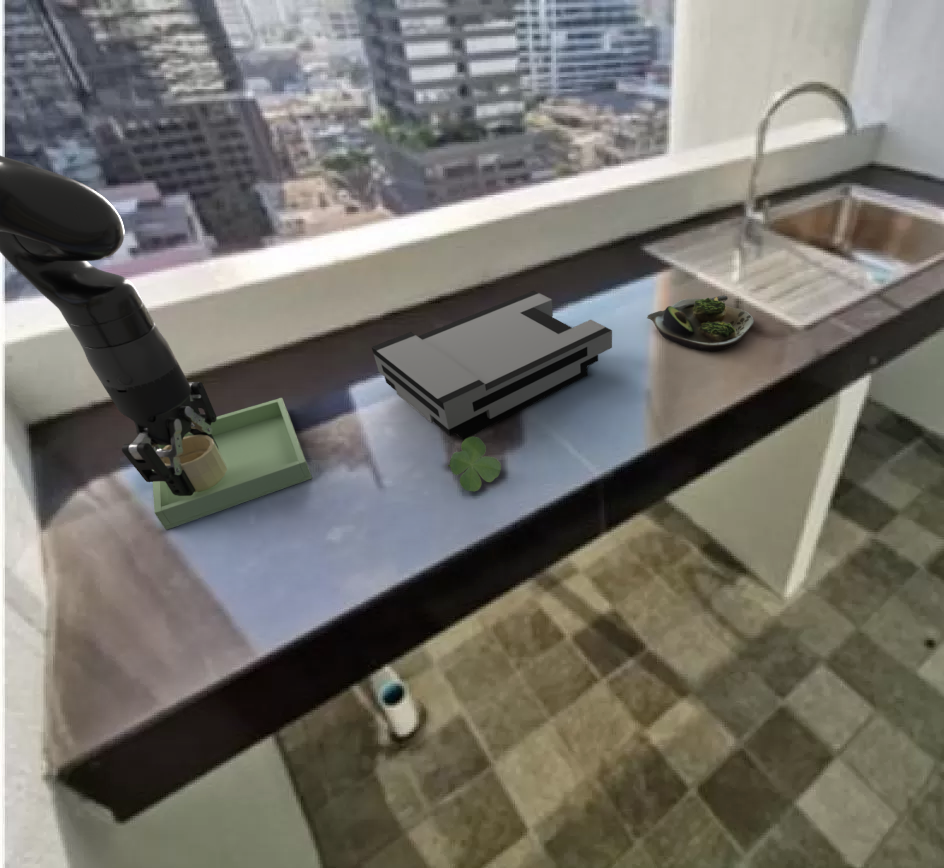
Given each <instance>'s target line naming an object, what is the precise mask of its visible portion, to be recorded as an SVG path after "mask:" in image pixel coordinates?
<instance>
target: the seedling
mask: <svg viewBox="0 0 944 868" xmlns="http://www.w3.org/2000/svg"><path fill="white" fill-rule="evenodd" d="M460 449H461V451H455V452H454V453H452V454H451V457H450V460H449V464H448V465H447V467H450V471H451V473H452V474H453V475H455V476H459V475H460V478H459V484H460V486H461V488H463V490H464V491H468V492H477V491H479V490H480V489H481V487H482V479H483V481H485V482H486V483H492V482H493V481H494V480H495V479H497V478H498V477H499V475H500V473H501V470H502V464H501V462H500V461H499V460H498V458H496V457H494V456H487V455H486V456H485V454H486V453H487V452H486V451H487V446H486V445H485V443H484V441H483V440H482V439H481V438H480V437H478V436H470V437H468V438H466V439H464V440H463V441H462V442H461V445H460ZM481 478H482V479H481Z"/></svg>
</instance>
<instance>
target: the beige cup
mask: <svg viewBox="0 0 944 868" xmlns="http://www.w3.org/2000/svg"><path fill="white" fill-rule="evenodd" d="M182 446H183V454H182V455H181V456H180V460H181V467H182V470H184V471H185V473H186V475H187V476H188V478H189V480H190V481H191V483H192V485H193V487H194V488H195V492H200V491H204V490H207V489H209V488H211V487H213V486H214V485H216V484H217V483H218V482H219V481H220V480H221V479H222V478H223V477H224V475H225V473H226V471H227V466H226V463H225V461H224V459H223V457H222V455H221V454H220V452H219V450H218V448H217V446H216V444H215V442H214V440H213V439H212V438H210V437H209V436H206V435H190V436H186V437H184V438H183V440H182ZM171 448H172V447H171V445H167V446H166V447H164V448H163V450H164V449H171ZM164 462H165V465H166V466H170V459H169V458H168V457H164Z"/></svg>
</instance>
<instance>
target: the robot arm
mask: <svg viewBox="0 0 944 868" xmlns="http://www.w3.org/2000/svg"><path fill="white" fill-rule="evenodd" d="M121 217H122V216H121V215H120V214H119V211H118V210H117V209H116V208H115V206H114V205H113V204H112V202H110V201H109V200H108V199H107V198H106V197H105V196H104V195H102V194H101V193H99V192H98V191H97V190H95V189H94V188H92V187H90V186H88V185H87V184H85V183H82V182H81V181H78V180H75V179H73V178H71V177H69V176H65V175H62V174H59V173H57V172H54V171H51V170H47V169H45V168H41V167H38V166H35V165H33V164H30V163H27V162H23V161H20V160H16V159H14V158H13V159H12V158H9V157H6V156H3V155H0V253H1V255H2V256H3V257H4V259H6V260H7V261H8V263H10V264H11V265H12V266H13V267H14V269H16V270H17V271H18V272H19V273H20V274H21V275H22V276H23V277H24V278H25V279H26V280H27V281H28V282H29V283H30V284H31V285H32V286H33V287H34V288H35V289H36V290H37V291H38V292H39V293H40V294H41V295H43V297H45V298H46V299H47V300H48V301H49V302H50V303H52V304H53V306H55V307H56V308H57V309H58V311H59V312H60V313H61V315H62V317H63V319H64V320H65V322H66V323H67V325H68V327H69V328H70V330H71V331H72V333H73V334H74V336H75V337H76V339H77V341H78V342H79V344H80V346H81V348H82V350H83V353H84V355H85V357H86V360H87V362H88V363H89V366H90V367H91V369H92V370H93V372H94V373H95V375H96V377H97V378H98V380H99V382H100V383H101V385H102V386H103V388H104V389H105V391H106V392H107V395H108V396H109V397H110V399H111V400H112V402H113V403H114V406H115V408H117V410H118V411H119V412H120V414H122V415H123V416H125V417H127V418H129V419H130V420H131V421H133V423H134V425H135V430H136V434H137V435H136V437H135V439H134V440H133V442H131V443H124V444H122V446H121V447H122V448H121V451H122V453H123V455H124V456H125V457H126V459H127V460H128V461H129V462H130V463H131V465H132V466H133V467H134V468H135V470H136V472H137V473H138V474H139V475H140V476H141V477H142V478H143V480H144V481H145V482H146V483H153V482H158V481H164V482H166V484H167V485H168V487H169V488H170V490H171V492H172V493H173V494H174V495H178V496H191V495H192V494H193V493H194V492H195V488H194V487H193V485H192V483H191V481H190V480H189V478H188V476H187V475H186V473H185V471H184V470H182V467H181V460H180V456H181V455H182V454H183V446H182V440H183V438H184V435H185V434H187V433H188V434H190V435H206V436H209V437H210V438H212V439H213V440H214V438H213V436H212V434H211V433H212V427H211V423H212V422H216V419H217V417H218V416H217V414H216V412H215V410H214V406H213V405H212V403H211V400H210V398H209V395H208V393H207V391H206V388H205V386H204V383H203V382H202V381H188V379H187V376H186V375H185V373H184V371H183V370H182V368H181V366H180V363H179V362H178V360H177V358H176V356H175V354H174V352H173V350H172V348H171V346H170V345H169V342H168V341H167V338H166V337H165V336H164V335H163V333H162V332H161V331H160V329H159V328H158V326H157V325H156V323H155V320H154V319H153V317H152V316H151V313H150V312H149V310H148V307H147V306H146V304H145V302H144V300H143V299H142V297H141V294H140V293H139V291H138V289H137V288H136V286H135V285H134V284H133V282H132V281H130V280H129V279H128V278H127V277H124V276H122V275H119V274H117V273H112V272H109V271H104V270H103V269H99V268H97V267H95V266H93V265H92V264H91V263H90V262H94V261H101V260H104V259H106V258H109V257H111V256H113V255H114V254H116V253H117V252H118V251H119V250H120V249H121V247H122V245H123V243H124V240H125V226H124V222H123V220H122V218H121ZM200 409H202V410H203V412H204V413H201V412H200ZM214 442H215V440H214ZM215 444H216V442H215ZM158 445H171V447H172V448H171V449H164V450H163V449H160V448H159V447H158ZM216 446H217V444H216ZM217 448H218V446H217ZM218 450H219V449H218ZM219 452H220V451H219ZM220 454H221V453H220ZM164 457H168V458H169V459H170V466H166V465H165V462H164ZM152 470H154V471H152Z"/></svg>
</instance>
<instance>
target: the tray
mask: <svg viewBox="0 0 944 868" xmlns="http://www.w3.org/2000/svg"><path fill="white" fill-rule="evenodd" d="M216 417H217V419H216V422H212V423H211V427H212V433H211V434H212V436H213V438H214V440H215V442H216V444H217V446H218V449H219V451H220V453H221V455H222V457H223V459H224V461H225V463H226V466H227V471H226V473H225V475H224V477H223V478H222V479H221V480H220V481H219V482H218V483H217V484H216V485H214V486H213V487H211V488H209V489H207V490H204V491H200V492H194V493H193V494H192V495H191V496H178V495H174V494H173V493H172V492H171V490H170V488H169V487H168V485H167V484H166V482H164V481H158V482H152V494H153V495H152V497H153V510H154V511H153V513H154V515H155V516H156V518H157V519H158V521H159V522H160V523H161V525H162V527H163V528H164V530H165V531H168V530H170V529H173V528H176V527H178V526H182V525H185V524H188V523H190V522H193V521H197V520H198V519H201V518H204V517H207V516H211V515H213V514H216V513H219V512H221V511H224V510H227V509H230V508H233V507H235V506H238V505H242V504H244V503H247V502H250V501H252V500H253V501H254V500H255V499H258V498H262V497H264V496H268V495H270V494H273V493H275V492H279V491H281V490H283V489H287V488H289V487H292V486H295V485H298V484H301V483H304V482H306V481H309V480H312V479H313V476H312V473H311V471H310V470H311V469H310V468H309V465H308V462H307V460H306V457H305V454H304V452H303V448H302V446H301V443H300V441H299V438H298V435H297V433H296V430H295V427H294V424H293V421H292V419H291V416H290V414H289V411H288V409H287V405H286V404H285V402H284V399H283V397H279V398H277V399H272V400H269V401H264V402H262V403H259V404H256V405H252V406H248V407H245V408H242V409H238V410H234V411H231V412H228V413H225V414H222V415H221V414H220V415H218V416H216ZM186 436H190V434H188V433H187V434H185V435H184V437H186ZM166 446H167V445H158V447H159V448H160V449H163V448H164V447H166ZM152 471H154V470H152Z"/></svg>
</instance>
